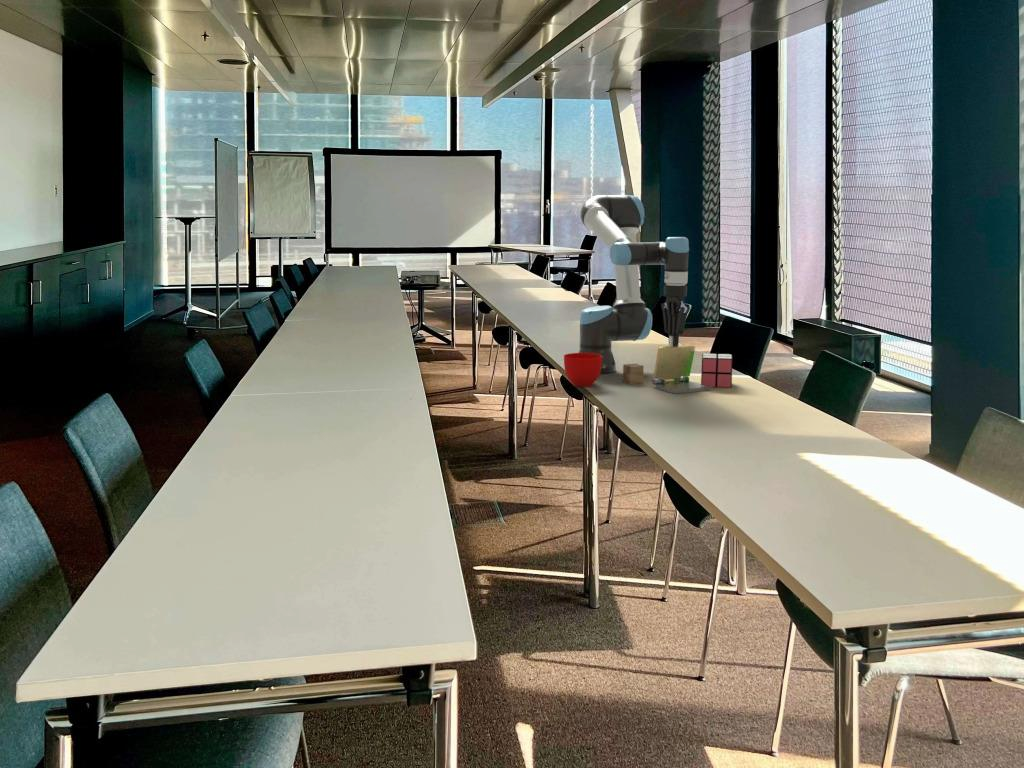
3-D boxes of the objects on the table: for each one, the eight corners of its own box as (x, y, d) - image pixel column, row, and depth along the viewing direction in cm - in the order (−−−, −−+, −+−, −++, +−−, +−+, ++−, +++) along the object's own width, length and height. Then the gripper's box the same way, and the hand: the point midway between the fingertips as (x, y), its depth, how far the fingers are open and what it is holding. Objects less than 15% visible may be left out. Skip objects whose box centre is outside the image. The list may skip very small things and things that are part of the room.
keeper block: (622, 381, 332) (623, 364, 330) (635, 380, 334) (635, 363, 333) (630, 384, 327) (631, 366, 326) (643, 382, 329) (643, 365, 328)
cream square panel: (689, 382, 326) (686, 380, 328) (696, 346, 321) (692, 344, 322) (654, 385, 320) (651, 383, 322) (660, 348, 315) (657, 346, 317)
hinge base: (686, 383, 328) (686, 375, 327) (709, 390, 316) (710, 382, 315) (651, 386, 322) (651, 378, 321) (674, 393, 310) (674, 385, 310)
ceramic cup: (608, 380, 333) (609, 352, 331) (596, 389, 317) (597, 359, 315) (572, 378, 337) (572, 350, 335) (558, 387, 321) (559, 357, 319)
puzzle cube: (731, 388, 320) (732, 358, 318) (700, 387, 322) (702, 357, 320) (730, 383, 330) (732, 354, 328) (701, 381, 332) (702, 353, 330)
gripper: (655, 283, 321) (652, 353, 325) (677, 286, 309) (674, 358, 314) (673, 282, 324) (671, 351, 328) (696, 285, 313) (693, 357, 317)
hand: (673, 355), depth 321 cm, fingers closed
